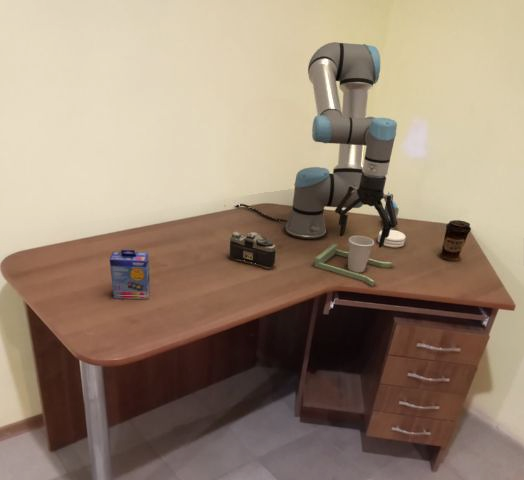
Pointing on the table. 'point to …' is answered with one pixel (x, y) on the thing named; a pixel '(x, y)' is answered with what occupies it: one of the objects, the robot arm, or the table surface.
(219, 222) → the table surface
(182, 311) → the table surface
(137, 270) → the ink cartridge box
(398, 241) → the coaster
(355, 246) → the dixie cup
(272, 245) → the camera
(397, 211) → the label tape box
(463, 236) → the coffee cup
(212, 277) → the table surface
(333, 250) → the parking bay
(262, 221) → the table surface
